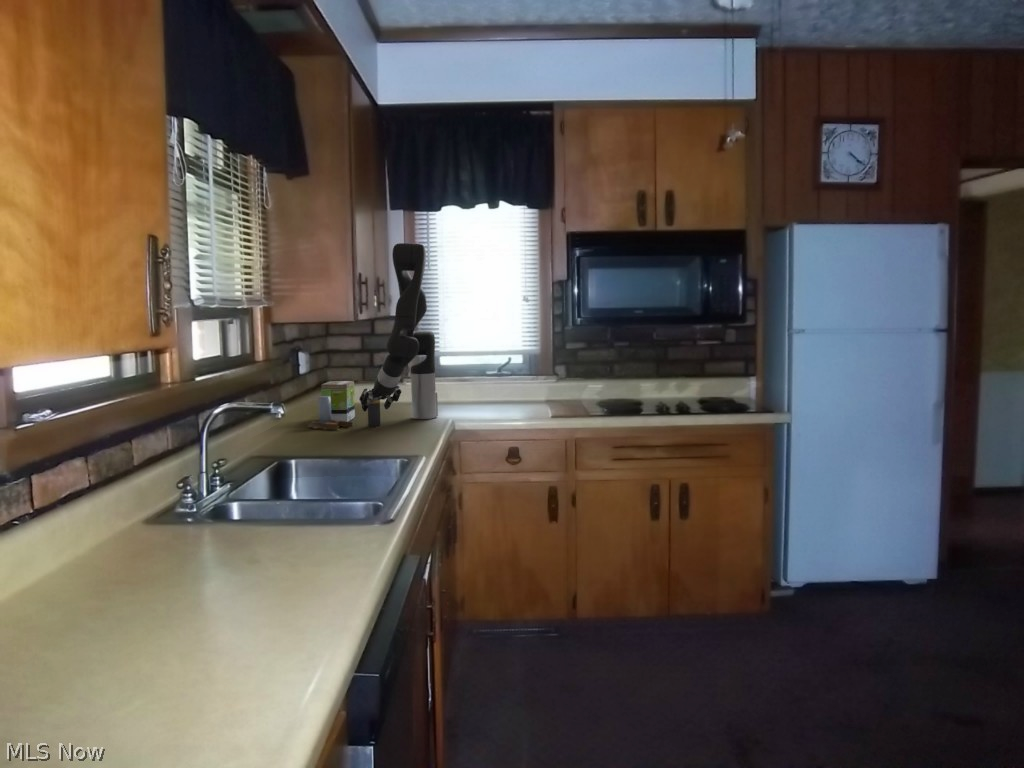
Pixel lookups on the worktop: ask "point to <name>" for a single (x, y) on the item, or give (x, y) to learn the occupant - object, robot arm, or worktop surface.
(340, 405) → the tea box
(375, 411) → the dark grey cylinder
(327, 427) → the rack
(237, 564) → the worktop surface
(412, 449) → the worktop surface
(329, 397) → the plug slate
